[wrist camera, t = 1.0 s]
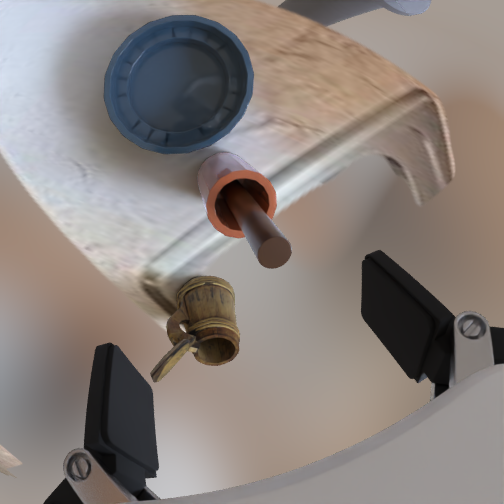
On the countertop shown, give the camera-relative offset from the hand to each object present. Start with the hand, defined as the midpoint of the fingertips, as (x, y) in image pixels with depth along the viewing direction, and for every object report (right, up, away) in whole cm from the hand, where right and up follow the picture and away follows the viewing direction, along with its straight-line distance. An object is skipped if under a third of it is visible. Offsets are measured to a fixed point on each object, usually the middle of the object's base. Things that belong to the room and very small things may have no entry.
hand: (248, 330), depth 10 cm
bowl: (-9, +22, +20) cm, 31 cm away
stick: (-3, +12, +26) cm, 29 cm away
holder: (-4, +12, +27) cm, 30 cm away
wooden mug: (-9, -4, +34) cm, 35 cm away
